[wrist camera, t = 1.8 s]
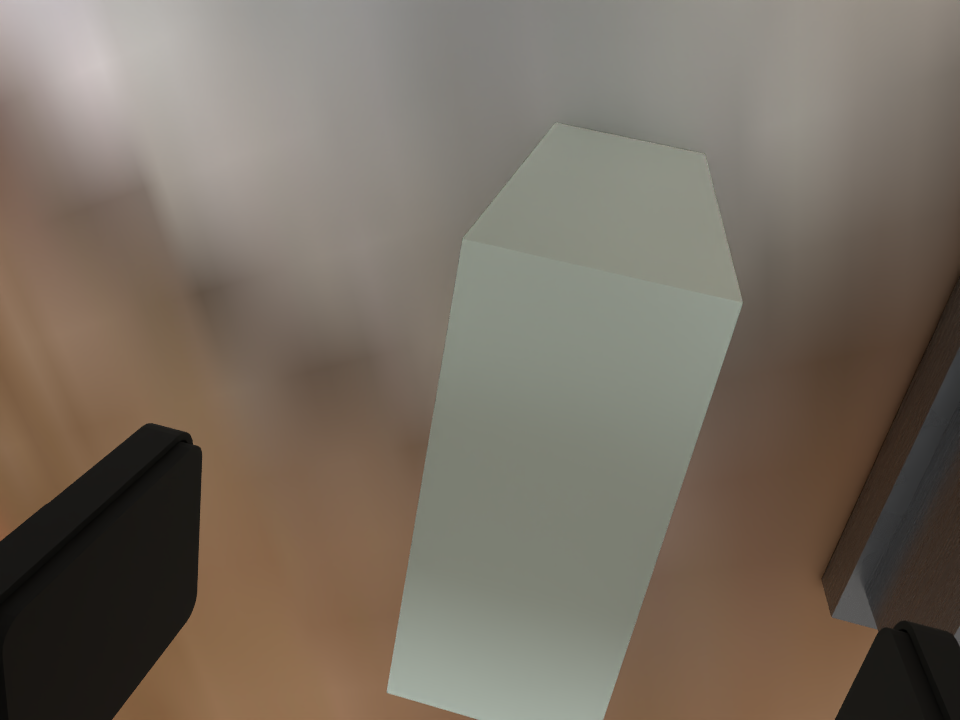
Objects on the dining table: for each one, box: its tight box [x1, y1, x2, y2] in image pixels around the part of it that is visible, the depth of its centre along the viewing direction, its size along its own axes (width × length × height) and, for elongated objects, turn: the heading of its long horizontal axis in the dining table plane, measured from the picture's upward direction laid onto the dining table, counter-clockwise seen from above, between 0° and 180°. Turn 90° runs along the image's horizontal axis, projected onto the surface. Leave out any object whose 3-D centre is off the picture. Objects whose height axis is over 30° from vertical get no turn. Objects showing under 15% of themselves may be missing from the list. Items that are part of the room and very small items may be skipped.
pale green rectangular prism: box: [387, 122, 743, 720], centre depth 16 cm, size 8×4×10 cm, turn 170°
